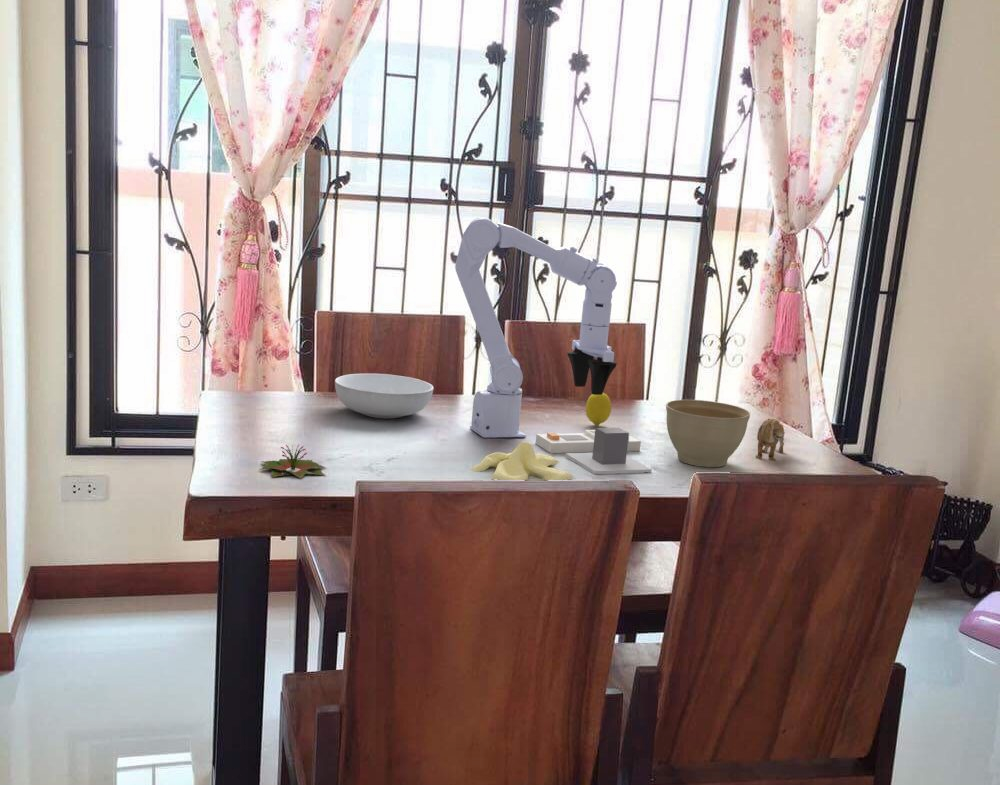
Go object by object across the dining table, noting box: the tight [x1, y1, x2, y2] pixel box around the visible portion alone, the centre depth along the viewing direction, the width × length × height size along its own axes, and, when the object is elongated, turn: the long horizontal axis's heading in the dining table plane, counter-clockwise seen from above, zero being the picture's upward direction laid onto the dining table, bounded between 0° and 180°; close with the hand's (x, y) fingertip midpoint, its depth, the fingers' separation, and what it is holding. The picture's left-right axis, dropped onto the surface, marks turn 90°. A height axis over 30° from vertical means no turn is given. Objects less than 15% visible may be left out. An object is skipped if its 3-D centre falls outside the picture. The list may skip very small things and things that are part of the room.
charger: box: [592, 427, 630, 465], centre depth 190 cm, size 5×4×6 cm
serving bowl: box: [334, 373, 435, 419], centre depth 215 cm, size 21×21×7 cm
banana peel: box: [468, 440, 574, 481], centre depth 181 cm, size 22×19×6 cm
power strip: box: [535, 429, 642, 454], centre depth 202 cm, size 20×7×3 cm, turn 113°
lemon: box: [585, 392, 612, 427], centre depth 221 cm, size 6×6×8 cm
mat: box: [565, 452, 653, 475], centre depth 191 cm, size 12×12×1 cm
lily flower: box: [258, 444, 327, 480], centre depth 170 cm, size 12×12×5 cm
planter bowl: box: [665, 399, 751, 468], centre depth 198 cm, size 16×16×11 cm
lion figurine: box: [755, 417, 786, 461], centre depth 208 cm, size 15×5×9 cm, turn 161°
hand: (588, 390), depth 207 cm, fingers open, 7 cm apart
